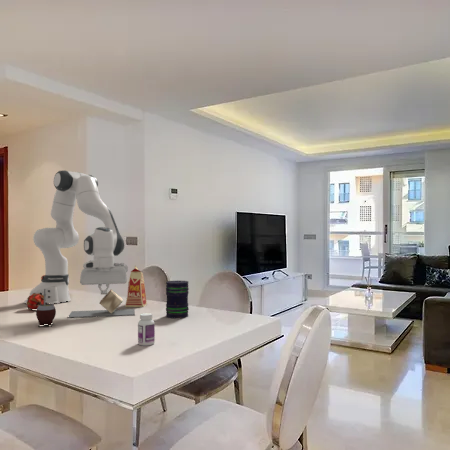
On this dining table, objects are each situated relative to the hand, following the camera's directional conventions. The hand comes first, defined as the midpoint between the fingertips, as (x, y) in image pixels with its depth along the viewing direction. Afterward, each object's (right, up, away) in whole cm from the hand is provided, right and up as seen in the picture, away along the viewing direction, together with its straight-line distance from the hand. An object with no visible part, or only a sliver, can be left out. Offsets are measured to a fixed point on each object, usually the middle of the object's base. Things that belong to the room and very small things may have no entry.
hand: (103, 294), depth 189 cm
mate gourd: (-15, -8, -25) cm, 31 cm away
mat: (-1, -9, 0) cm, 9 cm away
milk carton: (+10, -9, +22) cm, 26 cm away
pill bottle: (+29, -8, -52) cm, 60 cm away
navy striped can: (+34, -9, -6) cm, 35 cm away
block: (0, -1, 0) cm, 1 cm away
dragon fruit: (-35, -9, +10) cm, 37 cm away
